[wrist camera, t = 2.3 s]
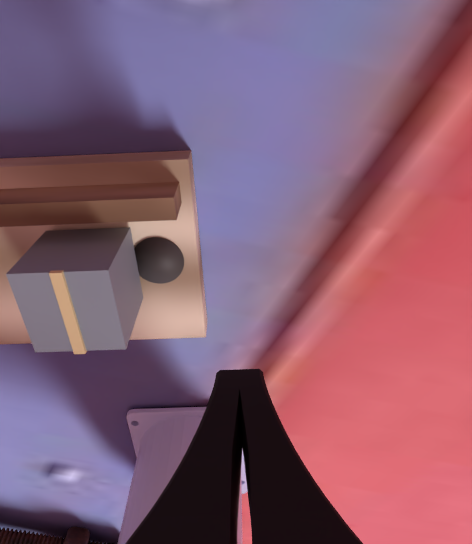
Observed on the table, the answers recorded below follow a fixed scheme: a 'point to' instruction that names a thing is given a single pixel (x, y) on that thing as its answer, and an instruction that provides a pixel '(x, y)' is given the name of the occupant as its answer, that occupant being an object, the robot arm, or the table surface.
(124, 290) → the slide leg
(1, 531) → the bolt
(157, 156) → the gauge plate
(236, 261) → the table surface
